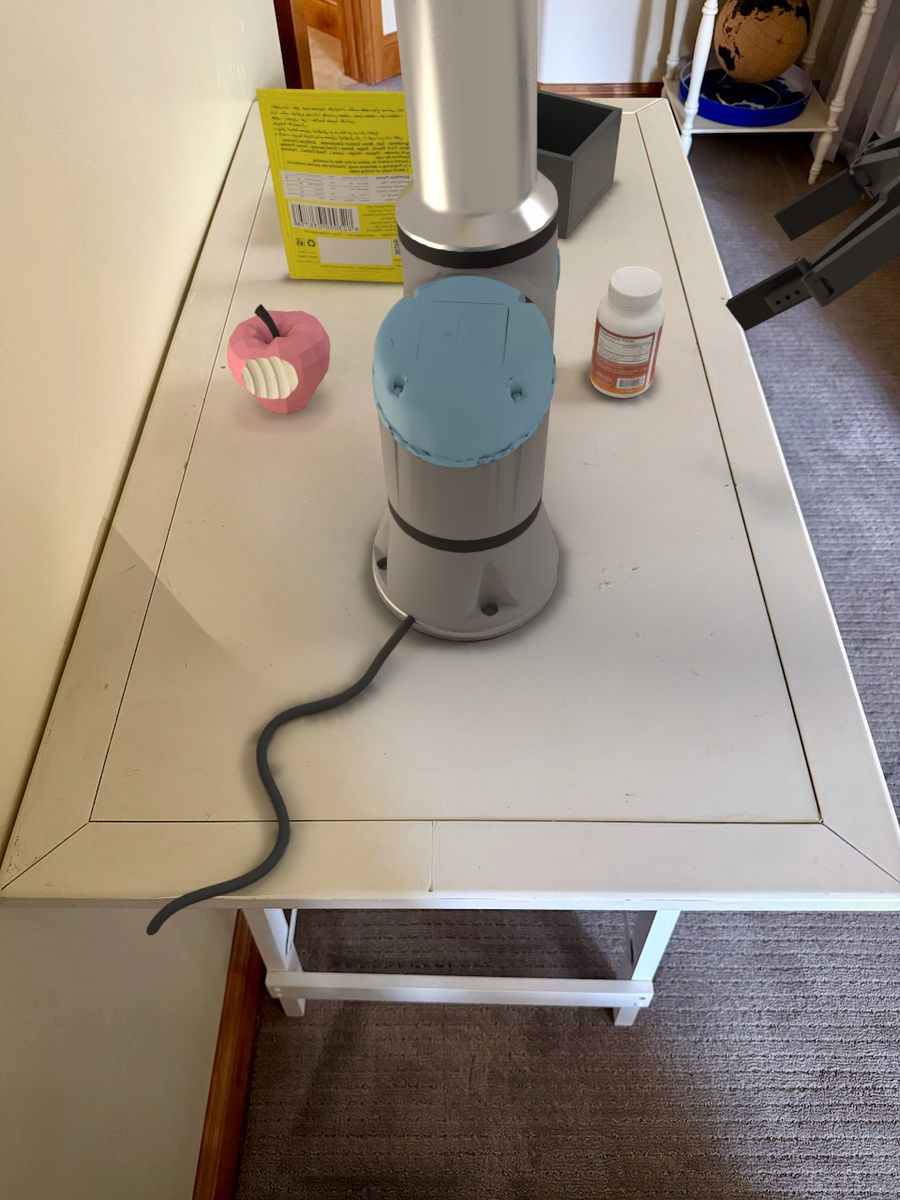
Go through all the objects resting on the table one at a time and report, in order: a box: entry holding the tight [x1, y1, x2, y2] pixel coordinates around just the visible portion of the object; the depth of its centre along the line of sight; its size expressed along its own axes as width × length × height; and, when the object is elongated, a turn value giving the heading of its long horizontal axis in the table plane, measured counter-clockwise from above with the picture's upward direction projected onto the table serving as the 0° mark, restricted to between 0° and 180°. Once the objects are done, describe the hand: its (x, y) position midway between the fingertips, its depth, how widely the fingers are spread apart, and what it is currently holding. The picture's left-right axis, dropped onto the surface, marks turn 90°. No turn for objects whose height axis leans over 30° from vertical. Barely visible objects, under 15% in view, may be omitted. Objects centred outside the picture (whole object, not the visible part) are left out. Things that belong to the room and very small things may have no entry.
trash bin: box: [537, 88, 624, 239], centre depth 106 cm, size 14×14×9 cm
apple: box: [226, 303, 331, 415], centre depth 83 cm, size 10×9×10 cm
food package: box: [255, 88, 413, 284], centre depth 91 cm, size 15×1×20 cm, turn 84°
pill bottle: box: [589, 265, 666, 399], centre depth 84 cm, size 6×6×11 cm
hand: (760, 269), depth 74 cm, fingers open, 13 cm apart
